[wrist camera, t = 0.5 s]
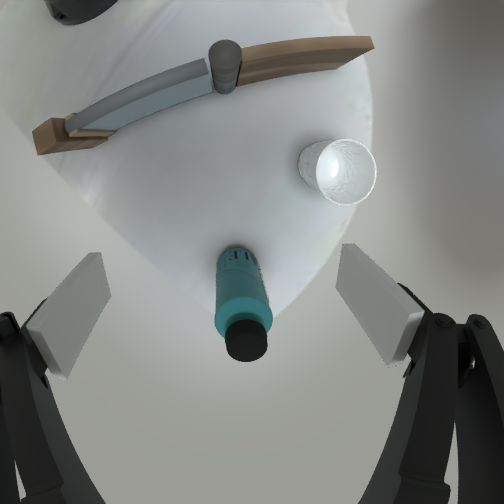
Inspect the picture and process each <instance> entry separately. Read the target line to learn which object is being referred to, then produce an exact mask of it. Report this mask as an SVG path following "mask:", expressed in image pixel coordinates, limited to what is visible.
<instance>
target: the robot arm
mask: <svg viewBox="0 0 504 504" xmlns="http://www.w3.org/2000/svg"><path fill="white" fill-rule="evenodd" d="M116 1H117V0H45V3H46V5H47V7H48V9H49V11H50V14H51V16H52V17H53V18H54V19H55V20H57V21H58V22H60V23H62V24H65V25H76V24H80V23H83V22H86V21H88V20H90V19H92V18H94V17H96V16H98V15H99V14H101V13H103V12H104V11H105V10H107V9H108V8H109V7H111V6H112V5H113V4H114V3H115V2H116ZM336 289H337V291H338V292H339V293H340V295H341V296H342V298H343V299H344V301H345V302H346V304H347V305H348V307H349V308H350V310H351V311H352V312H353V314H354V315H355V317H356V318H357V320H358V322H359V323H360V324H361V326H362V328H363V329H364V331H365V332H366V334H367V335H368V337H369V338H370V340H371V341H372V343H373V344H374V346H375V347H376V349H377V351H378V352H379V354H380V355H381V357H382V358H383V360H384V362H385V363H386V365H387V367H388V368H389V367H393V366H396V365H400V364H402V363H403V361H404V359H405V357H406V355H407V353H408V354H409V356H410V357H411V361H410V363H409V365H408V368H407V369H406V371H405V373H404V375H403V377H404V378H405V376H406V379H405V383H404V387H403V390H402V394H401V398H400V401H399V405H398V408H397V411H396V415H395V418H394V421H393V424H392V427H391V430H390V433H389V436H388V438H387V441H386V444H385V446H384V449H383V452H382V454H381V457H380V459H379V461H378V464H377V466H376V469H375V471H374V473H373V475H372V478H371V480H370V482H369V484H368V486H367V488H366V490H365V492H364V494H363V496H362V498H361V500H360V501H359V503H358V504H448V501H449V498H450V491H451V490H450V486H449V485H448V484H446V483H445V482H444V476H445V472H446V467H447V463H448V459H449V454H450V448H451V443H452V437H453V436H452V435H453V430H454V422H455V425H456V435H457V447H458V469H459V470H458V471H459V473H458V474H459V480H458V484H459V485H458V504H504V351H503V349H502V346H501V344H500V342H499V340H498V338H497V336H496V334H495V332H494V330H493V328H492V326H491V324H490V322H489V321H488V320H487V319H486V318H485V317H484V316H481V315H477V314H472V315H470V316H469V317H468V320H467V322H466V324H456V322H455V321H454V320H453V319H452V318H451V317H449V316H448V315H445V314H442V313H434V314H433V313H432V312H431V311H430V310H429V309H428V308H427V307H426V306H425V305H424V304H423V303H422V302H421V301H420V300H419V299H418V298H417V297H416V296H415V295H413V293H412V292H411V291H410V290H409V289H408V288H407V287H405V286H403V285H402V284H400V283H396V282H395V281H394V280H393V279H392V278H391V277H390V276H389V275H388V274H387V273H386V272H385V271H384V270H383V269H382V268H381V267H380V266H378V265H377V264H376V263H375V262H374V261H373V260H372V259H371V258H370V257H369V256H367V255H366V254H365V253H364V252H363V251H362V250H361V249H360V248H359V247H358V246H356V245H355V244H342V251H341V257H340V264H339V270H338V276H337V283H336ZM110 297H111V293H110V289H109V286H108V281H107V277H106V273H105V269H104V265H103V260H102V256H101V253H100V252H95V253H89V254H88V255H87V256H86V257H85V258H84V259H83V260H82V261H81V262H80V263H79V264H78V265H77V266H76V267H75V268H74V269H73V270H72V272H70V274H69V275H68V276H67V277H66V278H65V279H64V280H63V281H62V282H61V283H60V285H59V286H58V287H57V288H56V289H55V290H54V291H53V293H52V294H51V295H50V296H49V297H48V298H46V299H45V300H43V301H42V302H41V303H40V305H39V306H38V307H37V309H35V311H34V312H33V314H31V315H30V317H29V318H28V319H27V321H26V322H25V323H24V324H23V326H22V327H21V328H20V327H19V325H18V323H17V321H16V319H15V316H14V314H13V313H11V312H4V313H1V314H0V504H106V503H105V502H104V500H103V499H102V497H101V495H100V494H99V492H98V491H97V489H96V487H95V486H94V484H93V482H92V481H91V479H90V477H89V475H88V474H87V472H86V470H85V468H84V466H83V464H82V463H81V461H80V459H79V457H78V455H77V453H76V451H75V448H74V446H73V444H72V442H71V440H70V438H69V435H68V433H67V431H66V428H65V426H64V424H63V421H62V418H61V416H60V414H59V411H58V408H57V405H56V402H55V399H54V397H53V393H52V390H51V387H50V384H49V381H48V378H47V376H46V375H45V371H46V369H47V368H49V370H50V372H51V374H52V375H53V377H56V378H61V379H66V380H67V379H68V376H69V374H70V372H71V370H72V368H73V366H74V364H75V362H76V359H77V358H78V356H79V354H80V352H81V350H82V347H83V346H84V344H85V342H86V340H87V338H88V336H89V334H90V333H91V331H92V329H93V327H94V325H95V323H96V322H97V320H98V318H99V316H100V314H101V313H102V311H103V309H104V307H105V306H106V304H107V302H108V301H109V299H110ZM474 360H475V365H474V368H473V365H472V363H473V361H474ZM14 459H15V460H14ZM15 462H16V465H17V468H18V471H19V475H20V478H21V480H22V483H23V486H24V489H25V492H26V497H25V498H23V499H21V502H20V497H19V491H18V485H17V479H16V470H15Z"/></svg>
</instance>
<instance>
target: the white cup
mask: <svg viewBox="0 0 504 504" xmlns="http://www.w3.org/2000/svg"><path fill="white" fill-rule="evenodd" d="M298 168H299V171H300V175H301V177H302V178H303V179H304V180H305V181H306V182H307V184H309V185H310V186H311V187H312V188H313V189H315V190H316V191H317V192H319V193H320V194H321V195H323V196H324V197H326V198H327V199H328V200H330V201H331V202H333V203H335V204H337V205H342V206H351V205H355V204H357V203H359V202H361V201H363V200H364V199H365V198H366V197H367V196H368V195H369V194H370V192H371V191H372V189H373V187H374V185H375V181H376V175H377V171H376V164H375V160H374V158H373V156H372V154H371V152H370V151H369V150H368V148H367V147H365V146H364V145H363V144H362V143H360V142H358V141H356V140H352V139H337V140H328V141H322V142H319V143H313V144H312V145H310V146H308V147H306V148H305V149H304V151H303V152H302V153H301V155H300V157H299V163H298Z"/></svg>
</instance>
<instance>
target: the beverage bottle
mask: <svg viewBox="0 0 504 504" xmlns="http://www.w3.org/2000/svg"><path fill="white" fill-rule="evenodd" d="M254 256H255V255H254V254H253V253H250V252H249V251H247V250H246V249H241V248H234V249H230V250H227V251H226V252H225V253H223V254H222V255H221V257H220V258H219V260H218V262H217V273H216V312H215V327H216V329H217V331H218V332H219V333H220V335H221V336H222V337H224V338H225V343H226V348H227V352H228V354H229V355H230V356H231V357H232V358H233V359H235V360H238V361H241V362H251V361H255V360H257V359H259V358H260V357H262V356H263V355H264V354H265V352H266V350H267V346H268V344H267V332H268V331H269V330H270V328H271V325H272V321H273V316H272V312H271V309H270V307H269V302H268V300H269V297H268V299H267V290H265V288H266V287H265V286H264V285H263V283H264V282H263V281H264V280H263V281H262V277H261V274H262V273H261V274H260V271H261V269H260V268H259V267H260V266H259V267H258V264H259V263H257V262H258V261H257V260H256V258H255V257H254ZM264 287H265V288H264ZM265 291H266V292H265Z"/></svg>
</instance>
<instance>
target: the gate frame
mask: <svg viewBox="0 0 504 504" xmlns="http://www.w3.org/2000/svg"><path fill="white" fill-rule="evenodd" d="M372 49H374V45H373V42H372V40H371V37H370V36H332V37H316V38H304V39H295V40H287V41H280V42H273V43H267V44H261V45H256V46H251V47H246V48H242V49H241V48H240V46H239V45H238V44H237V43H236V42H234V41H231V40H221V41H218V42H216V43H214V44H213V45H212V46H211V48H210V49H209V53H208V55H209V61H210V67H211V72H212V78H213V83H214V88H215V90H216V91H217V92H218V93H220V94H229V93H231V92H232V91H233V90H234V89H235V86H237V87H238V86H241V85H246V84H250V83H254V82H258V81H263V80H268V79H273V78H278V77H283V76H289V75H295V74H301V73H308V72H315V71H324V70H333V69H337V68H339V67H340V66H342V65H344V64H346V63H347V62H349V61H351V60H353V59H355V58H357V57H358V56H360V55H362V54H364V53H366V52H368V51H370V50H372ZM64 124H65V119H63V118H50V119H48V120H47V121H45V122H44V123H43V124H41V125H40V126H39V127H37V128H36V129H35V130H33V131H32V134H33V138H34V142H35V146H36V150H37V154H38V155H44V154H50V153H57V152H64V151H72V150H80V149H89V148H93V147H95V146H97V145H99V144H101V143H103V142H105V141H107V140H108V139H107V136H84V137H70V136H69V134H68V133H67V131H66V129H65V126H64Z"/></svg>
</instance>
